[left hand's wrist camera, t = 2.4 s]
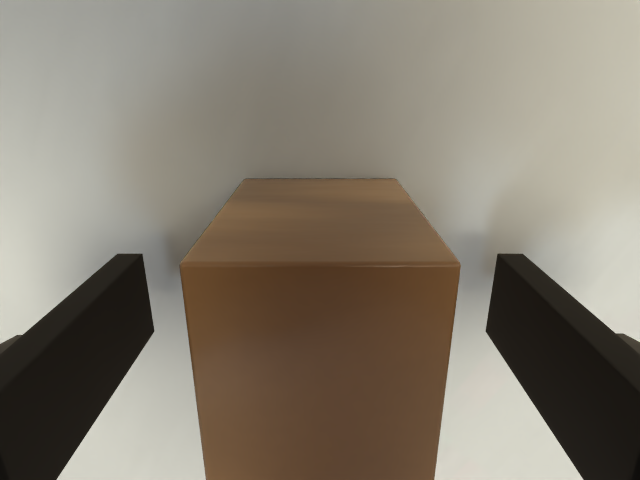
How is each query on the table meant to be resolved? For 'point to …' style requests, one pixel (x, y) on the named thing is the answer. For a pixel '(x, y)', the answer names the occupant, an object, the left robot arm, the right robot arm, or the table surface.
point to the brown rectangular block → (320, 332)
